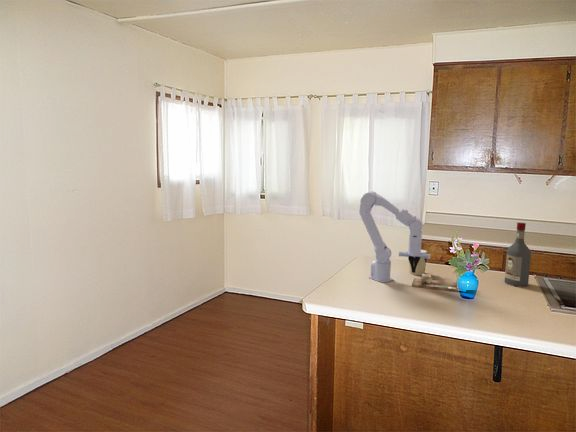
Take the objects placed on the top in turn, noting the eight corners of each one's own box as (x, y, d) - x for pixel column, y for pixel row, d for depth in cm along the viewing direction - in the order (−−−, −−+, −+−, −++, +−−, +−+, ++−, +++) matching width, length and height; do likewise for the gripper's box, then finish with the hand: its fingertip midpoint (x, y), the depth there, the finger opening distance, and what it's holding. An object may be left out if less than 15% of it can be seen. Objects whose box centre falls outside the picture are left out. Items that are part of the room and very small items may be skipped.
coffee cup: (428, 275, 226) (429, 252, 224) (410, 275, 226) (411, 252, 224) (423, 271, 235) (424, 249, 233) (405, 270, 235) (406, 248, 233)
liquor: (515, 280, 219) (521, 221, 215) (531, 285, 211) (536, 224, 207) (501, 282, 216) (506, 221, 212) (516, 287, 208) (521, 224, 204)
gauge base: (411, 286, 206) (412, 276, 205) (414, 279, 217) (414, 270, 217) (466, 292, 198) (467, 282, 197) (466, 285, 209) (466, 275, 208)
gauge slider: (420, 284, 205) (421, 277, 205) (422, 279, 212) (422, 273, 212) (429, 285, 204) (430, 278, 203) (430, 280, 211) (431, 274, 211)
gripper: (398, 244, 208) (397, 272, 210) (430, 247, 203) (428, 275, 205) (400, 242, 215) (399, 269, 216) (431, 244, 209) (429, 272, 211)
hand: (413, 272), depth 211 cm, fingers closed
